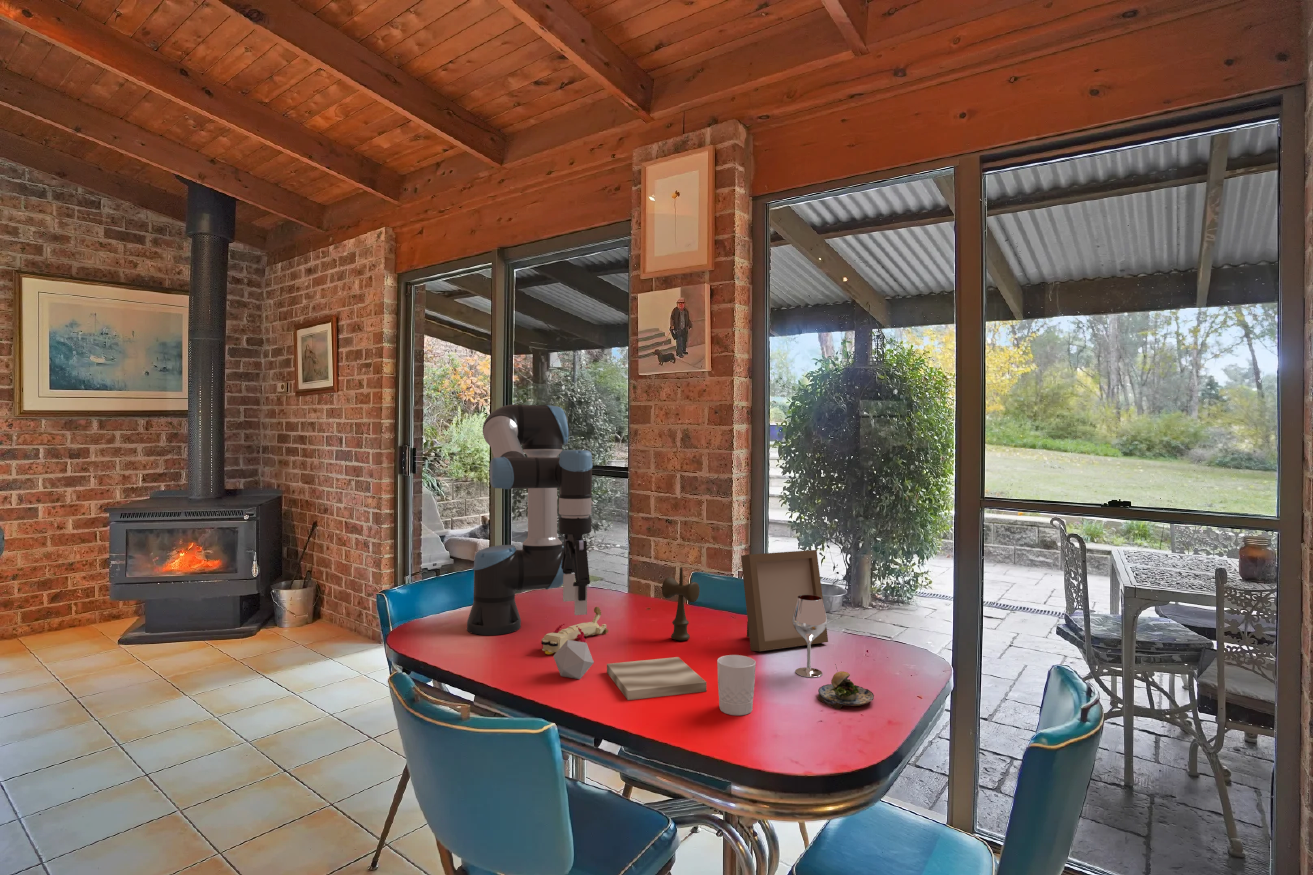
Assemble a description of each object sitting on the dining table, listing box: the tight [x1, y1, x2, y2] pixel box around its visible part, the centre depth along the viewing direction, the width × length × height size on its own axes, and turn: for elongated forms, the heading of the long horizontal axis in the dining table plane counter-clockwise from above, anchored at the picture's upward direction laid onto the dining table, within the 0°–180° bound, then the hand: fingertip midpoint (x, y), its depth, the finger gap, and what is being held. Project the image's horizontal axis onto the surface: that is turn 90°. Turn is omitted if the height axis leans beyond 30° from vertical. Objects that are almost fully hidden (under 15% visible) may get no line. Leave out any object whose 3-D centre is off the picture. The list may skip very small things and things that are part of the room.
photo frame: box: [740, 549, 829, 652], centre depth 190 cm, size 15×22×25 cm
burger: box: [817, 663, 875, 710], centre depth 149 cm, size 12×12×8 cm
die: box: [552, 640, 595, 680], centre depth 162 cm, size 8×9×10 cm
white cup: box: [716, 654, 757, 716], centre depth 143 cm, size 8×8×10 cm
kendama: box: [661, 566, 701, 642], centre depth 191 cm, size 6×10×20 cm, turn 51°
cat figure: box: [540, 606, 609, 655], centre depth 186 cm, size 10×9×25 cm
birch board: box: [606, 656, 707, 701], centre depth 158 cm, size 18×18×2 cm
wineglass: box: [792, 595, 828, 678], centre depth 165 cm, size 8×8×18 cm
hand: (574, 607), depth 161 cm, fingers open, 13 cm apart
